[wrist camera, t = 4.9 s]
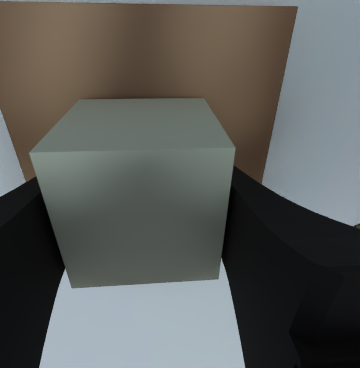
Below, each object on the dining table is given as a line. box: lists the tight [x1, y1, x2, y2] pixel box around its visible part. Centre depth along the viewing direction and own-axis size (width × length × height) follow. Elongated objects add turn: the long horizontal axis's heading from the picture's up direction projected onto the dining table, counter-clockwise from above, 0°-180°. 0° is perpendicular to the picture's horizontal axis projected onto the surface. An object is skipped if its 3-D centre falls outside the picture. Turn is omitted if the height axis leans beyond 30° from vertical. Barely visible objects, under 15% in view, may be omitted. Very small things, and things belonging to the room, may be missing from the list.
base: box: [0, 1, 298, 184], centre depth 14 cm, size 12×12×2 cm
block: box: [29, 98, 236, 288], centre depth 10 cm, size 5×5×5 cm
